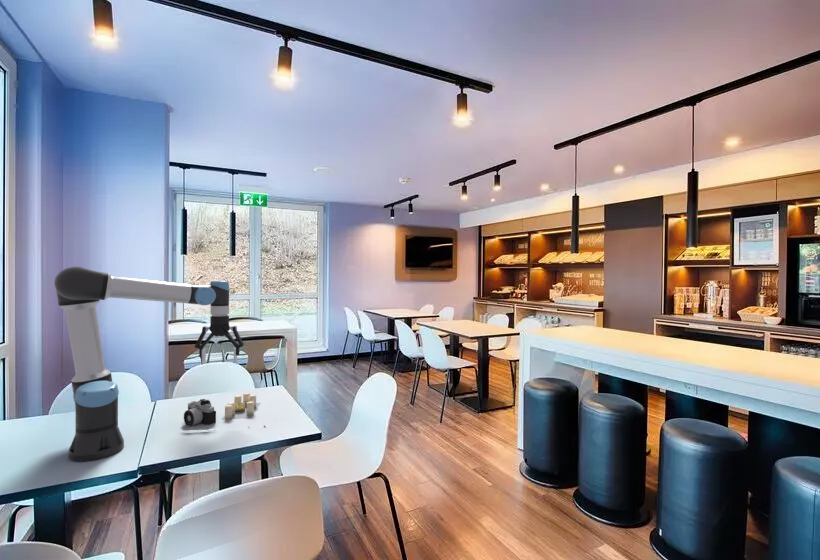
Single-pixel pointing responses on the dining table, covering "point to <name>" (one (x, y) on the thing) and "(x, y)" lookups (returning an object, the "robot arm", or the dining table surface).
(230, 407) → the board
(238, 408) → the nut
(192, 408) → the camera
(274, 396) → the dining table surface
